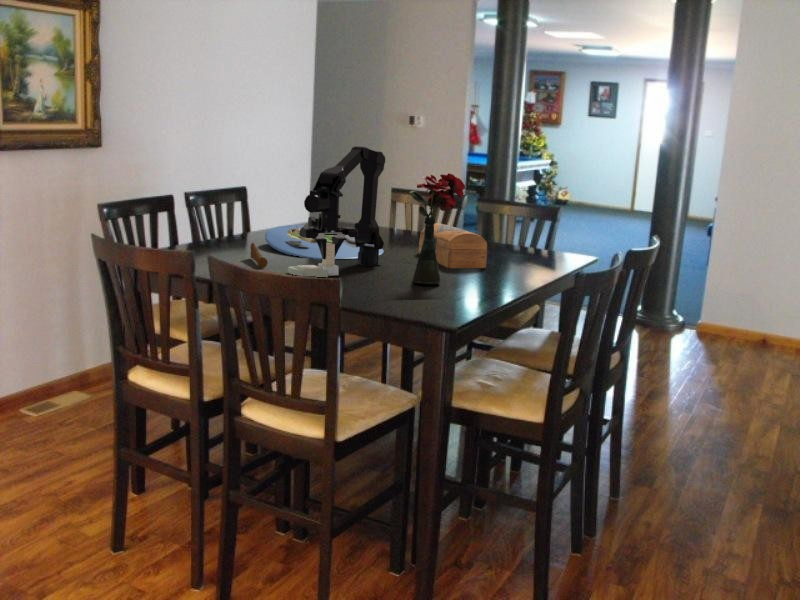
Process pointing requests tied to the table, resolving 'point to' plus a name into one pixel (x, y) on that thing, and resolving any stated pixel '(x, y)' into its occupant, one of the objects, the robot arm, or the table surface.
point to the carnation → (446, 201)
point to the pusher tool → (329, 261)
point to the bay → (307, 272)
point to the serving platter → (307, 243)
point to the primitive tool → (258, 257)
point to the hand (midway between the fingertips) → (328, 258)
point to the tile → (309, 268)
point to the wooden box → (457, 247)
